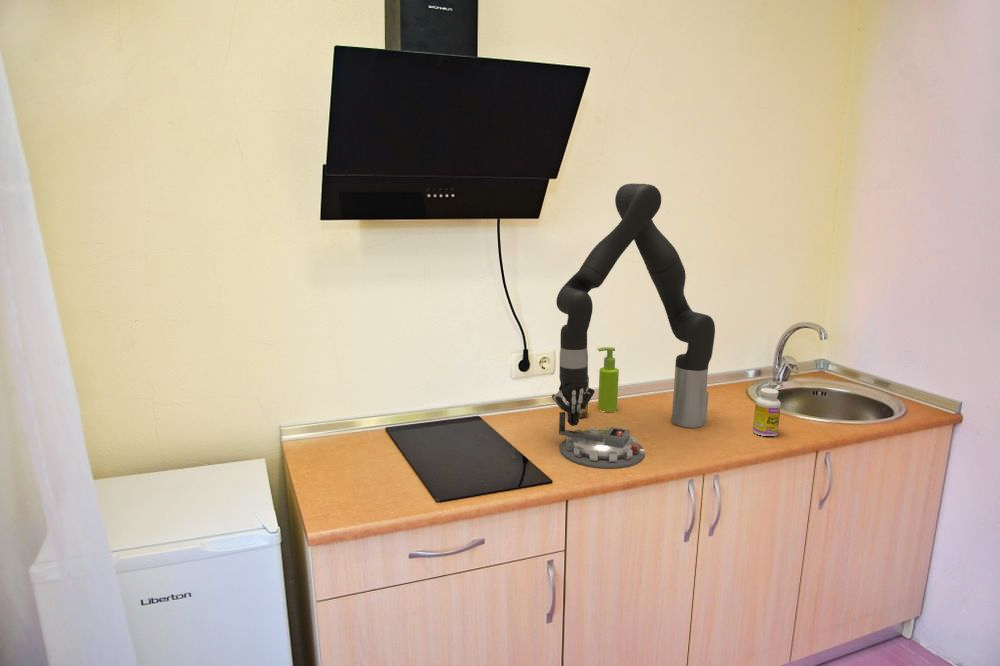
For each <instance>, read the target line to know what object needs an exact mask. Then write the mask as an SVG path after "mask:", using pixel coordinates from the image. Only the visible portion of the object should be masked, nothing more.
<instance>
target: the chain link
mask: <svg viewBox="0 0 1000 666" xmlns="http://www.w3.org/2000/svg"><path fill="white" fill-rule="evenodd" d="M617 431H623V435H622V436H621V437H619V436H616V435H617ZM630 434H631V431H630V429H628V428H621V427H620V428H619V427H614V426H611V427H610V429H609V431H608V432H607V433H606V435H605V440H604V445H608V446H614V447H620V448H624V446H625V445H626V443H627V442H628V440H629V437H630Z"/></svg>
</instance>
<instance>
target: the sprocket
mask: <svg viewBox="0 0 1000 666" xmlns="http://www.w3.org/2000/svg"><path fill="white" fill-rule="evenodd" d="M558 413H559V414H558V415H559V417H558V424H559V425H558V435H560V436H566V439H567V440H566V448H567V450H568V451H571V450H574V455H575V456H578V457H582V456H585V457H589V458H590V460H592V461H598V460H599V459H602V460H608V461H609V462H617V459H620V458H624V459H626V460H628V459H630V458H632V453H633V454H637V453H638V451H639V444H640V443H638V442H639V440H638V439H637V437H636V436H631V437H630V436H629V440H628V442H627V443H626V445H625V446H624V448H620V447H614V446H608V445H604V440H605V435H606V433H607V432H608V431H609V429H610V428H611V427H610V428H609V427H606V428H604V429H600V428H599V429H598V428H597V427H588V429H585V430H584V429H575V430H568V429H566V413H567V412H565V411H560V412H558ZM622 435H623V431H617V435H616V436H619V437H621V436H622Z"/></svg>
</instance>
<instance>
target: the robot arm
mask: <svg viewBox="0 0 1000 666" xmlns="http://www.w3.org/2000/svg"><path fill="white" fill-rule="evenodd" d="M614 200H615V201H614V202H615V207H616V211H617V213H618V215H619V216H620V218H621V220H620V222H618V224H617V225H616V226H615V227H614V228H613V230H612V231H611V232H610V233H609V234H607V235H606V236H605V237H604V238H603V239H602V240H600V241H599V242H598V243H597V244H596V245H595V246H594V247H593V249H592V250H591V251H590V253H589V254H588V255H587V257H586V258H585V260H584V262H583V263H582V265H581V266H580V268H579V270H578V271H577V272H576V273H574V275H572V277H570V278H569V280H568V281H567V282H566V283H565V284H564V285H563V286H562V287H561V288H560V291H559V292H558V294H557V297H556V301H555V303H556V308H557V309H558V310H559V311H560V312H561V313H562V314H565V315H567V321H566V324H564V325H563V326H562V327H561V329H560V340H559V341H560V345H559V346H560V348H559V383H560V384H559V387H558V392H557V393H556V394H552V395H551V399H552V400H553V401H554V402H555V404H556V405H557V406H558V407H559V409H560V410H562V412H565V413H567V424H569V426H571V427H575V426H578V424H579V423H580V418H579V412H580V410H581V409H585V408H586V406H587V404H588V405H589V403H590V401H591V400H592V397H594V396H593V395H594V394H595V389H594V388H591V387H590V386H589V387H588V384H587V380H588V377H589V353H588V352H589V351H588V330H589V327H590V324H591V319H592V317H593V316H592V315H593V301H592V298H591V297H592V296H590V295H589V292H590V291H591V290H593V289H598V288H599V287H601V286H602V284H603V283H604V282H605V281H606V278H607V277H608V275H609V274H610V272H611V271H612V269H613V268H614V266H615V264H616V263H617V261H618V260H619V259H620V257H621V256H622V255H623V253H624V252H625V251H626V250H627V248H629V246H630V245H631V244H632V242H633V241H634V243H635V246H636V248H637V249H638V251H639V252H638V253H640V254H639V255H640V256H641V258H642V260H643V262H644V264H645V267H646V270H647V272H648V274H649V276H650V279H651V281H652V283H653V285H654V287H655V288H656V291H657V293H658V296H659V298H660V301H661V302H662V305H663V307H664V311H665V314H666V316H667V320H668V323H669V326H670V329H671V331H672V333H673V335H674V337H675V338H676V339H678V340H679V341H681V342H683V343H687V348H686V352H685V353H680V354H678V355H677V356H676V357H675V366H674V367H675V368H674V379H673V380H674V383H673V396H672V399H673V400H672V410H671V411H672V413H671V422H672V424H674V425H676V426H678V427H684V428H689V429H691V428H692V429H693V428H694V429H695V428H700V427H703V426H704V425H705V424H706V423H707V418H708V404H709V403H708V402H709V392H708V391H707V387H708V386H707V385H708V374H709V365H710V361H711V359H712V356H713V351H714V350H713V349H714V344H715V338H716V337H715V336H716V326H715V321H714V320H713V318H712V317H711V316H710V315H708V314H704V313H700V312H696V311H693V310H692V308H691V307H690V305H689V303H688V300H687V299H686V296H685V291H684V289H685V285H686V278H687V277H686V275H687V273H686V269H685V266H684V265H683V262H682V259H681V257H680V255H679V253H678V251H677V249H676V248H675V247H674V245H673V244H672V243H671V242H670V241H669V240H668V238H667V237H666V236H665V235H664V234H663V233H662V232H661V231H660V230H659V229H658V227H657V225H655V223H654V220H653V218H654V217H656V215H657V213H658V212H659V210H660V208H661V205H662V195H661V192H660V189H658V188H657V187H656V186H655V185H653V184H649V183H626V184H623V185H622V186H619V188H618V190H617V191H616V194H615V199H614ZM582 403H583V404H582Z"/></svg>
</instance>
